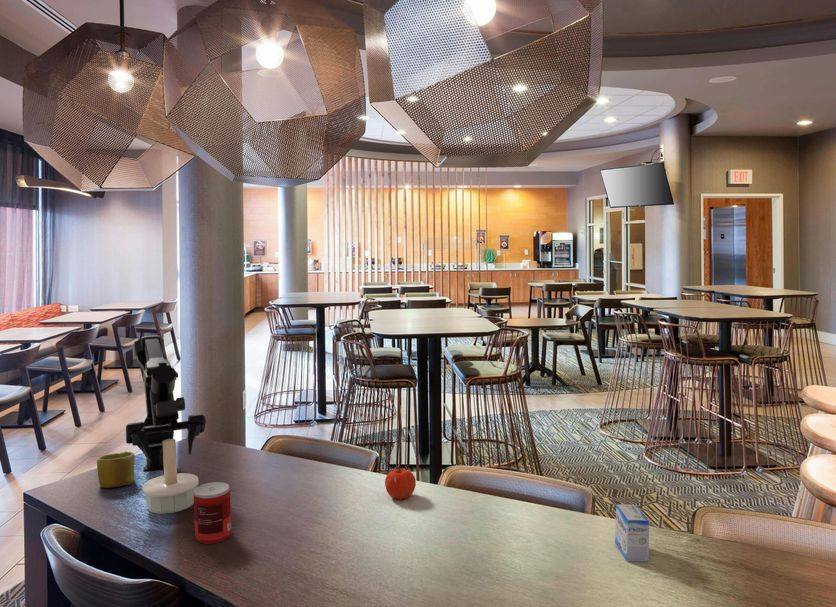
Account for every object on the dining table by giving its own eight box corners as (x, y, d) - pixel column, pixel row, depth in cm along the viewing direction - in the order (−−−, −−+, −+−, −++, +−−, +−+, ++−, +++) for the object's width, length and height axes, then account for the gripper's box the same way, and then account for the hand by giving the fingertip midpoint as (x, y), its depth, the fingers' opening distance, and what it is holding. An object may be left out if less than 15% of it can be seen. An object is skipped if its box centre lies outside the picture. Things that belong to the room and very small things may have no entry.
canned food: (221, 525, 136) (219, 479, 135) (238, 536, 130) (236, 488, 129) (189, 536, 130) (187, 488, 129) (204, 548, 125) (202, 498, 124)
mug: (128, 484, 156) (119, 448, 157) (93, 496, 156) (84, 460, 158) (152, 477, 168) (144, 443, 170) (120, 487, 169) (111, 454, 170)
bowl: (152, 498, 151) (151, 481, 151) (197, 493, 154) (196, 477, 154) (143, 516, 141) (142, 498, 141) (191, 510, 143) (191, 493, 143)
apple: (409, 505, 145) (408, 473, 145) (379, 500, 148) (379, 470, 148) (420, 493, 153) (420, 463, 152) (392, 489, 156) (392, 460, 155)
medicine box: (614, 543, 124) (615, 503, 124) (635, 543, 124) (636, 503, 124) (626, 562, 117) (627, 520, 116) (649, 562, 116) (649, 520, 116)
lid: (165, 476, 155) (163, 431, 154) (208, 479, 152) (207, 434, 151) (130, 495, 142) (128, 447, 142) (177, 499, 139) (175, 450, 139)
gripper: (124, 392, 144) (129, 447, 135) (203, 383, 153) (212, 435, 145) (123, 416, 152) (128, 470, 143) (199, 406, 161) (208, 457, 152)
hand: (170, 457), depth 145 cm, fingers open, 9 cm apart
